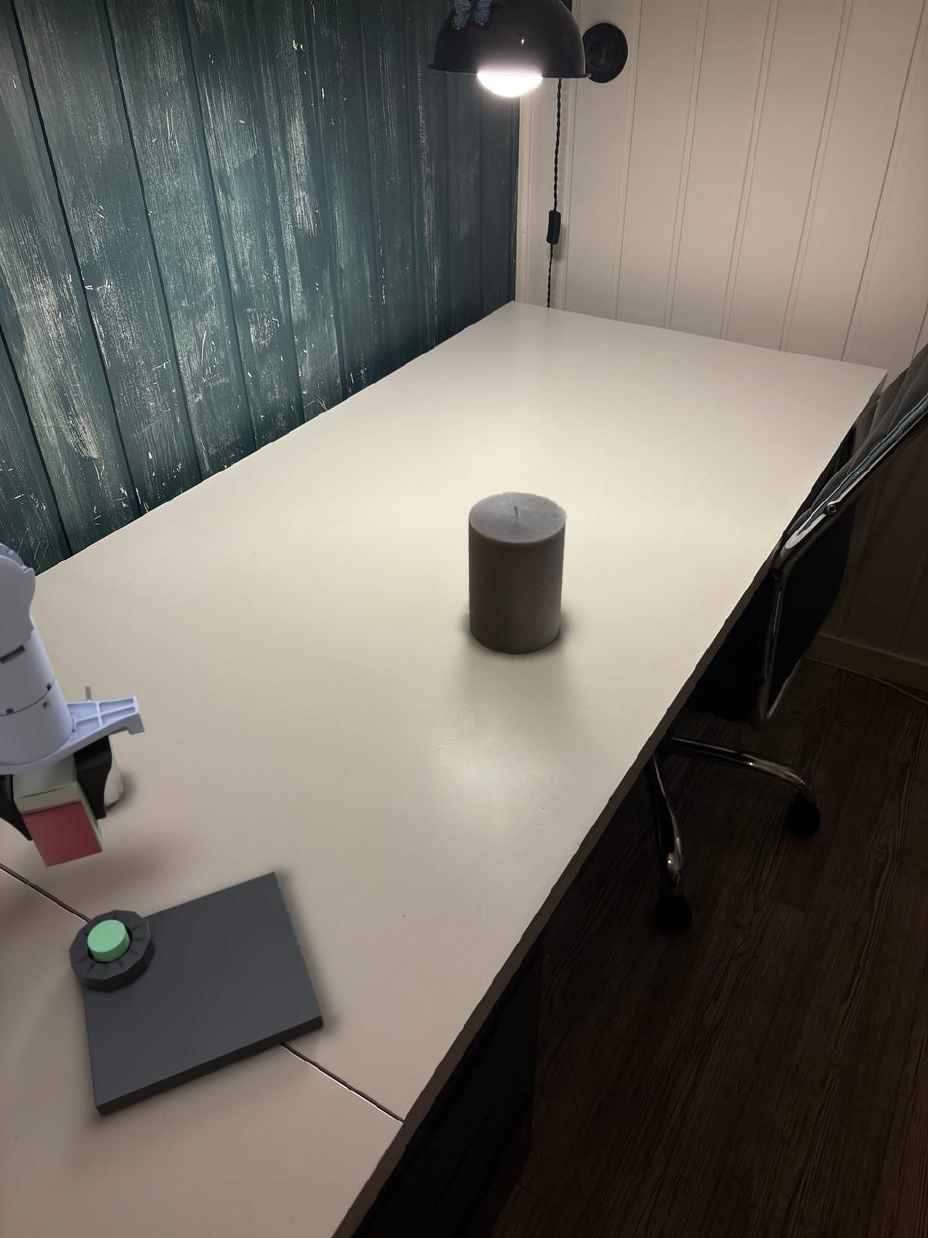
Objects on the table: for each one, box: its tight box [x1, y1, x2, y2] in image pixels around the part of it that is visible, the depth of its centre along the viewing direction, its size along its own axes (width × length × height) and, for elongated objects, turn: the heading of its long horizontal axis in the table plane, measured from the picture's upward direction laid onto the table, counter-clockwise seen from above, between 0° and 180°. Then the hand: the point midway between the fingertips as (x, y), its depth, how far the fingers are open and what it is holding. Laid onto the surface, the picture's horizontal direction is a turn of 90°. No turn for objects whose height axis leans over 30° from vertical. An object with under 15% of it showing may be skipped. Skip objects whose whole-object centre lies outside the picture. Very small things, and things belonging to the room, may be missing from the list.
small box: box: [13, 753, 105, 868], centre depth 68 cm, size 5×4×8 cm
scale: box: [68, 871, 324, 1116], centre depth 65 cm, size 15×13×3 cm
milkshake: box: [84, 686, 124, 807], centre depth 78 cm, size 5×5×10 cm
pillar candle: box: [467, 490, 568, 654], centre depth 94 cm, size 10×10×15 cm
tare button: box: [88, 920, 130, 962], centre depth 66 cm, size 3×3×1 cm
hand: (67, 819), depth 69 cm, fingers closed on small box, 4 cm apart
